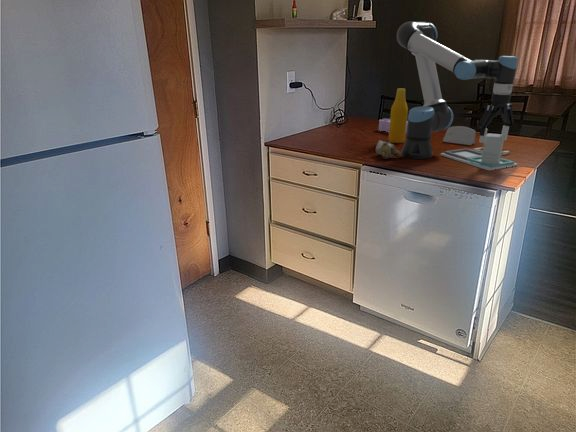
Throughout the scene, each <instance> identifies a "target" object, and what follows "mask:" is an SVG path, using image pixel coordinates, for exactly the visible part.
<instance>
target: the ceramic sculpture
mask: <svg viewBox="0 0 576 432" xmlns="http://www.w3.org/2000/svg"><path fill="white" fill-rule="evenodd" d="M375 153H376V154H377V155H378V156H381V158H383V159H385V160H387V159H391V158H393V157H395V158H402V157H404V155H402V154H401V151H400V150H398V149H396V146H395V145H394V143H392V142H389V140H385V141H383V140H381V139H379V140H378V142H377V144H376V147H375Z"/></svg>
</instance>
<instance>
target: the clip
mask: <svg viewBox="0 0 576 432" xmlns="http://www.w3.org/2000/svg"><path fill="white" fill-rule="evenodd" d="M378 122H379V123H378V131H379V130H380V131H379V132H381V131H386V132H385V133H387V132H388V133H387V134H389V127H390V118H382V119H379V120H378ZM407 125H408V120H407V124H406V134H405V136H407Z"/></svg>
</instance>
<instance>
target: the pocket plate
mask: <svg viewBox="0 0 576 432" xmlns="http://www.w3.org/2000/svg"><path fill="white" fill-rule="evenodd" d="M440 156H441V157H445V158H447V159H450V160H454V161H457V162H460V163H464V164H467V165H469V166H470V165H471V166H473V167H476V168H479V169H483V170H486V171H488V172H489V171H495V169H496V170H501V169H506V167H507V168H512V166H513V167H518V165H519V163H516V162H515V161H513V160H509V159H507V158H502V157H501V159H500V162H499V163H497V164H488V163H485V162H481V159H482V153H481V152H477V151H474V150H472V149H471V148H460V149H452V150H446V151H444V152H441V153H440Z"/></svg>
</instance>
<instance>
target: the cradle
mask: <svg viewBox="0 0 576 432" xmlns="http://www.w3.org/2000/svg"><path fill="white" fill-rule="evenodd" d="M471 150H474V151H477V152H481V153H483V146H481V147H475V148H471ZM510 152H511V151H510V150H504V151H503V150H502V153H501V156H505V155H510Z"/></svg>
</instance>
